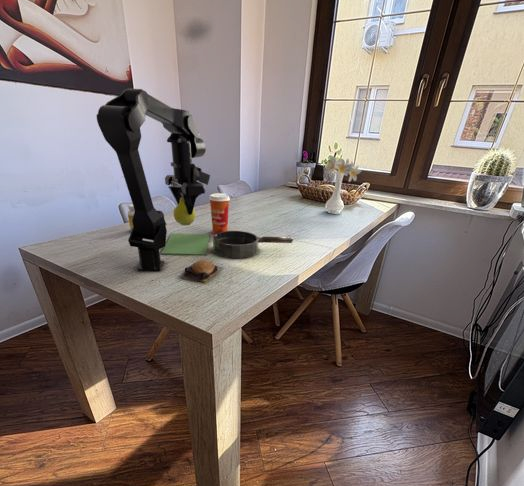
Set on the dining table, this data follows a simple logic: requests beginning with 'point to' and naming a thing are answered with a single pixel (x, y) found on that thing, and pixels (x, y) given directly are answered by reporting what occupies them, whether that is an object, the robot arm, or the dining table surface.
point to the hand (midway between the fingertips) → (186, 211)
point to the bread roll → (200, 271)
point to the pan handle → (274, 239)
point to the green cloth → (186, 244)
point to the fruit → (183, 214)
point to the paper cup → (219, 212)
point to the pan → (235, 244)
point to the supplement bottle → (131, 215)
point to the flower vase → (339, 182)
